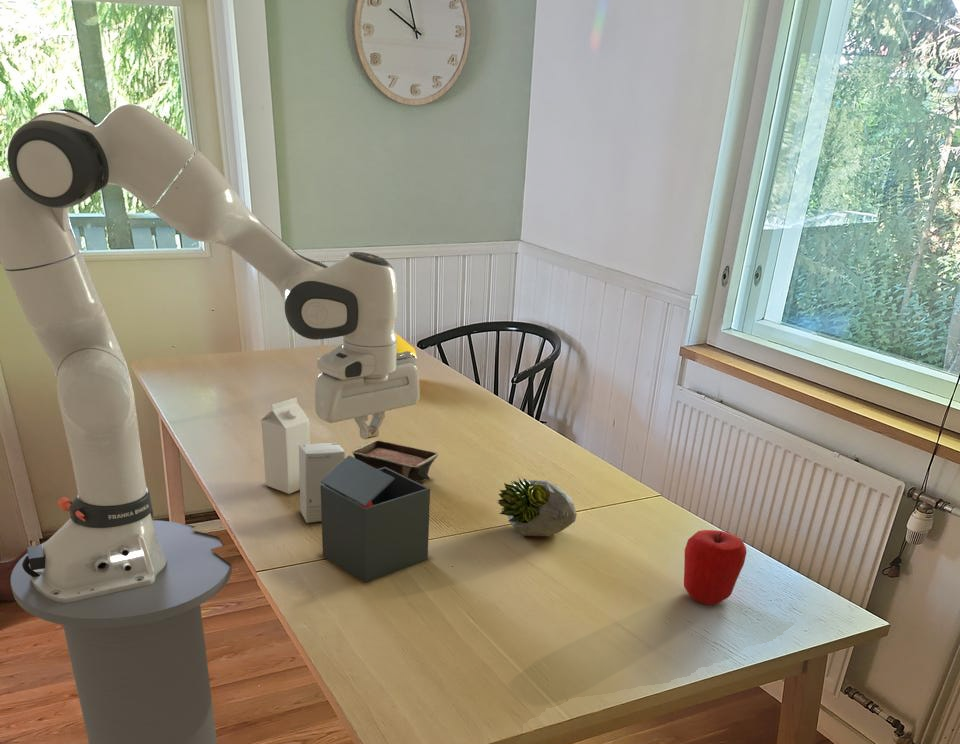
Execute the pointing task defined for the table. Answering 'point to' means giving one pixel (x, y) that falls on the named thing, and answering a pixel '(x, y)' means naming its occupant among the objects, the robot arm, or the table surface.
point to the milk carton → (284, 444)
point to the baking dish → (397, 458)
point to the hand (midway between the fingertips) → (369, 437)
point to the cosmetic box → (316, 475)
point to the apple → (712, 565)
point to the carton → (377, 528)
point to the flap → (357, 480)
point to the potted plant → (537, 507)
